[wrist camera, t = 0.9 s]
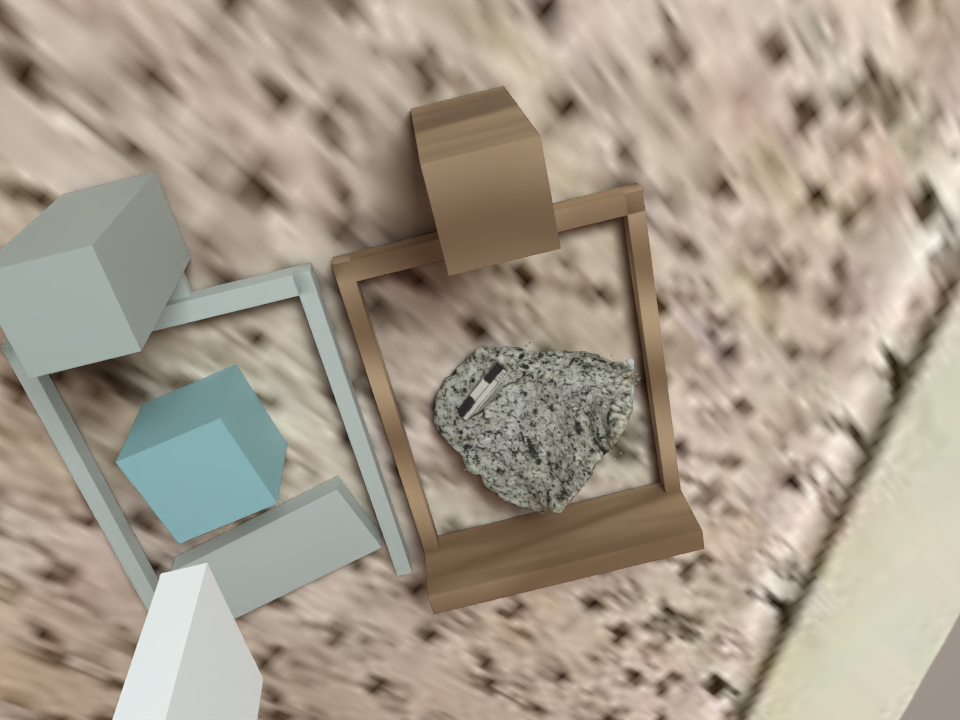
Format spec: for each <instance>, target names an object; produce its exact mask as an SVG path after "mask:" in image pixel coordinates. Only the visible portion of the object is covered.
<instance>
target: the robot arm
mask: <svg viewBox="0 0 960 720" xmlns="http://www.w3.org/2000/svg"><path fill="white" fill-rule="evenodd" d="M262 684H263V678H262V676H261V674H260V672H259V669H258V667H257V665H256V663H255V661H254V659H253V657H252V655H251V653H250V651H249V649H248V647H247V645H246V642H245V640H244V638H243V636H242V634H241V632H240V630H239V628H238V626H237V624H236V622H235V620H234V618H233V615H232V613H231V611H230V609H229V607H228V605H227V603H226V601H225V599H224V597H223V595H222V593H221V591H220V588H219V586H218V584H217V582H216V580H215V578H214V576H213V574H212V572H211V570H210V568H209V566H208V564H207V563H204V564H199V565H195V566H191V567H187V568H183V569H179V570H174V571H170V572H166V573H162V574H161V575H160V578H159V581H158V584H157V587H156V590H155V593H154V596H153V599H152V602H151V605H150V608H149V611H148V614H147V617H146V620H145V623H144V626H143V629H142V632H141V635H140V638H139V641H138V644H137V647H136V650H135V653H134V656H133V659H132V662H131V665H130V668H129V671H128V674H127V677H126V680H125V683H124V686H123V689H122V692H121V695H120V699H119V702H118V705H117V708H116V711H115V714H114V717H113V720H257V717H258V710H259V704H260V697H261V690H262Z"/></svg>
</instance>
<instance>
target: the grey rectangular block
mask: <svg viewBox="0 0 960 720" xmlns="http://www.w3.org/2000/svg"><path fill="white" fill-rule="evenodd" d="M379 548H382V547H381V532H380V530H379V529H378V528H377V526H376V525H375V524H374V523H373V521H372V520H371V519H370V517H369V516H368V515H367V513H366V512H365V511H364V509H363V508H362V507H361V505H360V504H359V503H358V501H357V500H356V499H355V497H354V496H353V495H352V494H351V492H350V491H349V490H348V488H347V487H346V486H345V484H344V483H343V482H342V480H341V479H340V478H339V476H336V477H334V478H332V479H330V480H328V481H326V482H324V483H322V484H320V485H318V486H316V487H314V488H312V489H310V490H308V491H306V492H304V493H302V494H300V495H298V496H296V497H294V498H292V499H290V500H288V501H287V502H285V503H283V504H281V505H279V506H277V507H275V508H273V509H271V510H269V511H267V512H265V513H263V514H261V515H259V516H257V517H255V518H253V519H251V520H249V521H247V522H245V523H243V524H241V525H239V526H237V527H235V528H233V529H231V530H229V531H227V532H225V533H223V534H221V535H219V536H217V537H215V538H213V539H211V540H209V541H207V542H205V543H203V544H201V545H199V546H197V547H195V548H193V549H191V550H189V551H187V552H185V553H183V554H181V555H179V556H177V557H175V560H174V564H173V567H172V570H171V571H174V570H179V569H183V568H187V567H191V566H195V565H199V564H204V563H207V564H208V566H209V568H210V570H211V572H212V574H213V576H214V578H215V580H216V582H217V584H218V586H219V588H220V591H221V593H222V595H223V597H224V599H225V601H226V603H227V605H228V607H229V609H230V611H231V613H232V615H233V618H234V619H235V618H237V617H239V616H242V615H244V614H246V613H248V612H250V611H252V610H254V609H256V608H258V607H260V606H262V605H264V604H266V603H268V602H270V601H272V600H274V599H277V598H279V597H281V596H283V595H285V594H287V593H289V592H291V591H293V590H295V589H297V588H299V587H301V586H303V585H305V584H307V583H309V582H312V581H314V580H316V579H318V578H320V577H322V576H324V575H326V574H328V573H330V572H332V571H334V570H336V569H338V568H340V567H342V566H344V565H347V564H349V563H351V562H353V561H355V560H357V559H359V558H361V557H363V556H365V555H367V554H369V553H371V552H373V551H375V550H377V549H379Z"/></svg>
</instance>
